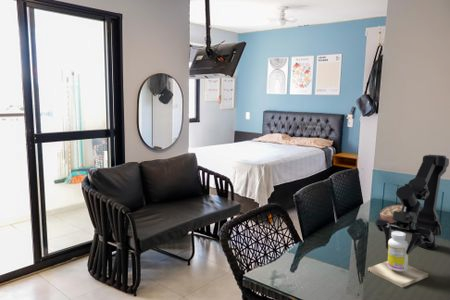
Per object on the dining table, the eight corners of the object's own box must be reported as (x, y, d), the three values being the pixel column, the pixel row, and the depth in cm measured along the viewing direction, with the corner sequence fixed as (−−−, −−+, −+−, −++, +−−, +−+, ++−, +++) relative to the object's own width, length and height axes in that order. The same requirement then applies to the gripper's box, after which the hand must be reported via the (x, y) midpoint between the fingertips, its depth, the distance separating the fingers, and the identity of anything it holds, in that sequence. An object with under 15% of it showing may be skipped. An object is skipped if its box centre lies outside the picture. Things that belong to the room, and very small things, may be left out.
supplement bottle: (397, 261, 133) (398, 228, 131) (412, 269, 127) (413, 234, 125) (383, 265, 130) (384, 231, 129) (398, 273, 124) (399, 238, 122)
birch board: (392, 261, 138) (392, 258, 138) (427, 276, 126) (428, 273, 126) (367, 270, 132) (367, 267, 131) (402, 287, 119) (402, 284, 119)
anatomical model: (395, 227, 175) (395, 217, 174) (375, 223, 182) (375, 213, 181) (411, 215, 191) (411, 206, 190) (392, 212, 198) (392, 203, 197)
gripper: (377, 197, 135) (364, 234, 129) (432, 207, 121) (420, 248, 115) (385, 212, 141) (373, 248, 135) (438, 223, 128) (427, 262, 122)
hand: (396, 251), depth 127 cm, fingers closed on supplement bottle, 7 cm apart
